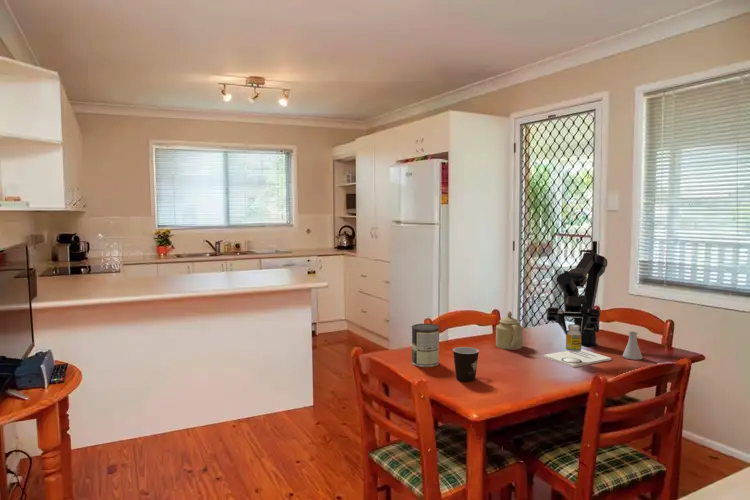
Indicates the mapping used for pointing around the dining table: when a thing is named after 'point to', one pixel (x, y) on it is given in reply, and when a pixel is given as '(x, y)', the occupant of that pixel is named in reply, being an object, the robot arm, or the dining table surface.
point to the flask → (632, 348)
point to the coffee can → (425, 345)
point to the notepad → (576, 358)
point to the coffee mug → (465, 363)
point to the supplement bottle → (573, 338)
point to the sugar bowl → (509, 333)
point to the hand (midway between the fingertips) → (574, 334)
